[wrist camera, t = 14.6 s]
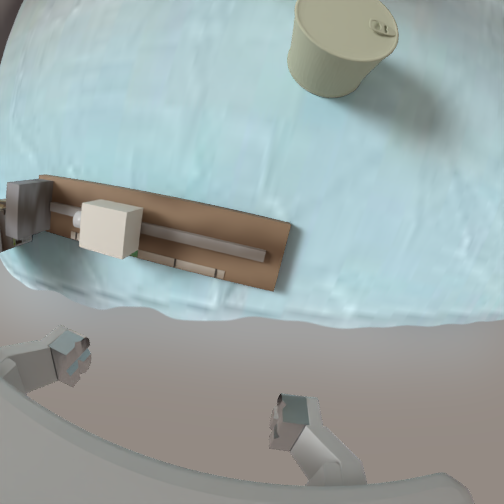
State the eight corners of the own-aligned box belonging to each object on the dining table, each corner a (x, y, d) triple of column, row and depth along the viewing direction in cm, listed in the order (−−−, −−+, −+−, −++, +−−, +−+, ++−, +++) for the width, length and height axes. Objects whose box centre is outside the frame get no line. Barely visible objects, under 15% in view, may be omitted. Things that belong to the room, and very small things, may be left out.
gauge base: (45, 174, 32) (5, 178, 24) (290, 222, 32) (296, 238, 24) (41, 226, 35) (3, 238, 26) (273, 286, 34) (273, 319, 26)
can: (359, 106, 28) (401, 75, 17) (282, 89, 28) (288, 45, 17) (364, 44, 26) (399, -2, 14) (292, 27, 26) (299, -29, 14)
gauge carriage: (91, 196, 31) (69, 200, 26) (145, 207, 31) (126, 212, 26) (87, 247, 32) (66, 256, 28) (138, 262, 32) (121, 274, 28)
